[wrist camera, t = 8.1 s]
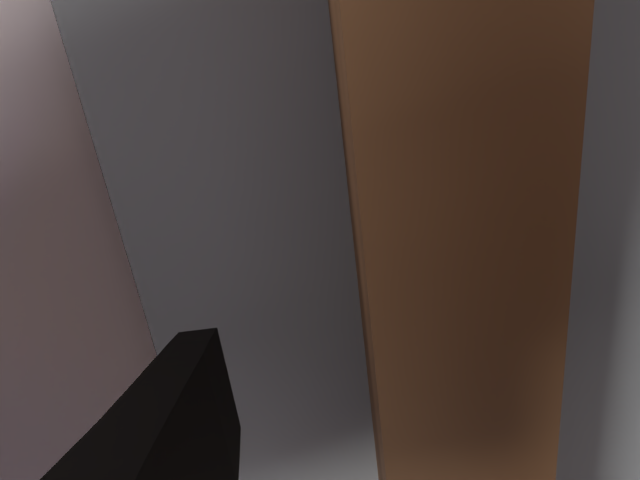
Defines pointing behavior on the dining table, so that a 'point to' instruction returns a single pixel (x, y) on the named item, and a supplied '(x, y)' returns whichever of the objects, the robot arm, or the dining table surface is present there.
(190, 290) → the grey mat
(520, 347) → the walnut bar
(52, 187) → the dining table surface
